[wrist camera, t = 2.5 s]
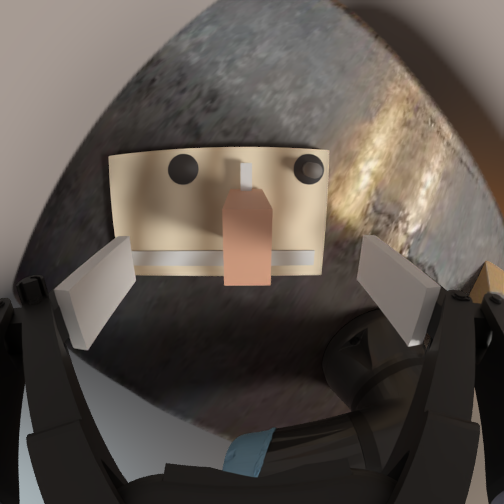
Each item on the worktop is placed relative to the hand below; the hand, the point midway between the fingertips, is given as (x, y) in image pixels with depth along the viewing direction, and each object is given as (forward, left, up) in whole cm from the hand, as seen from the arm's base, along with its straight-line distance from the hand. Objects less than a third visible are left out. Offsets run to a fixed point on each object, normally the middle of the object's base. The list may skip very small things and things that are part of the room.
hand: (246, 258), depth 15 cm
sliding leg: (0, -1, -13) cm, 12 cm away
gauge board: (+3, 0, -15) cm, 15 cm away
